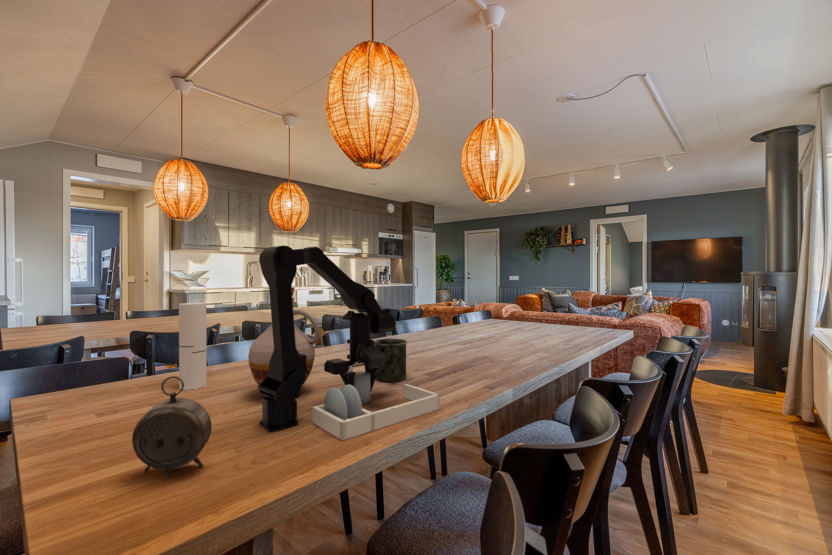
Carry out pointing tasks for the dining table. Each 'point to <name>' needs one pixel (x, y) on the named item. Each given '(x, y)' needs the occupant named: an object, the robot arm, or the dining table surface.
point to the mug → (399, 353)
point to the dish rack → (352, 420)
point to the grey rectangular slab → (363, 385)
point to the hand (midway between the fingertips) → (360, 394)
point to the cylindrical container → (192, 345)
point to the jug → (265, 347)
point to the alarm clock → (172, 433)
